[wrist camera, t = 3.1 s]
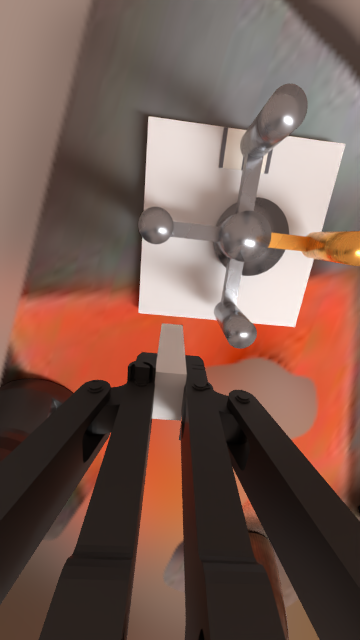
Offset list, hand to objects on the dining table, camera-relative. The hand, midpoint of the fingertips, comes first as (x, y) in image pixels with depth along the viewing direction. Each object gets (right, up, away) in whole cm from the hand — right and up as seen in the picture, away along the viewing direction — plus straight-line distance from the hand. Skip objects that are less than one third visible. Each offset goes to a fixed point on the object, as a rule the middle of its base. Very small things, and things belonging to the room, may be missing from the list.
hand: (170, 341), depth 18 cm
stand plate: (+7, +11, +11) cm, 17 cm away
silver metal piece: (+7, +11, +9) cm, 16 cm away
